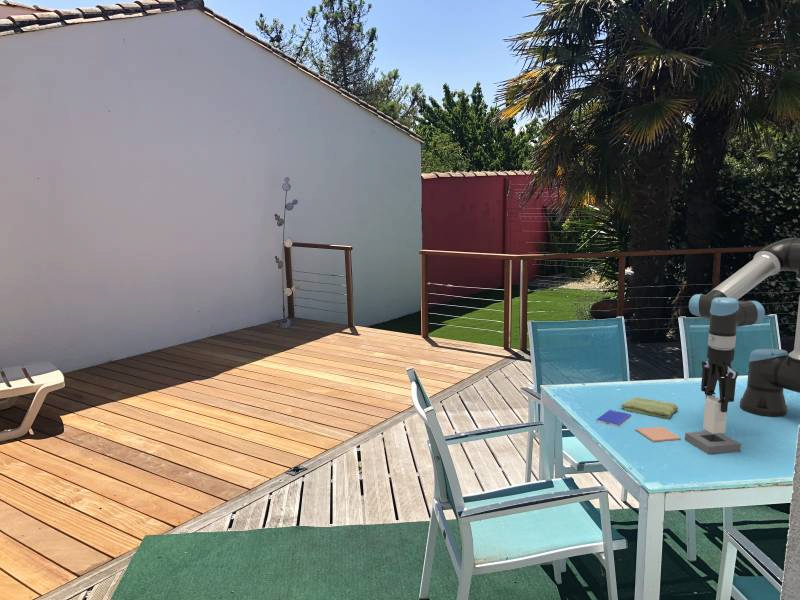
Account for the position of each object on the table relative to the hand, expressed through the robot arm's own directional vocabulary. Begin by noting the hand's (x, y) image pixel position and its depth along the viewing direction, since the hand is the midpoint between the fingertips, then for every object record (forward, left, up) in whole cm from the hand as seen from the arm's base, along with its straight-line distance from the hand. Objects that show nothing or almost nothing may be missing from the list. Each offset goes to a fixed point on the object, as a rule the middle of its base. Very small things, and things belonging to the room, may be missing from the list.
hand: (715, 417), depth 190 cm
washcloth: (+1, -33, -10) cm, 34 cm away
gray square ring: (0, 0, -9) cm, 9 cm away
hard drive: (+19, -27, -10) cm, 35 cm away
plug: (0, 0, -4) cm, 4 cm away
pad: (+12, -11, -9) cm, 19 cm away
